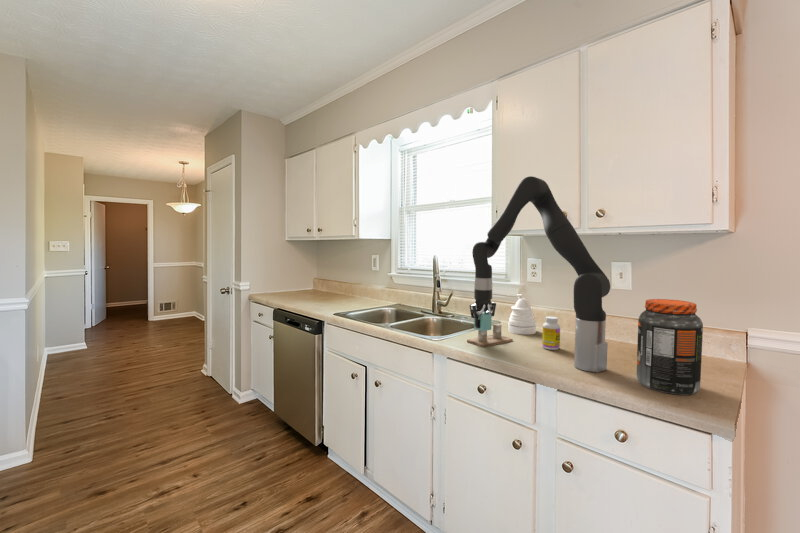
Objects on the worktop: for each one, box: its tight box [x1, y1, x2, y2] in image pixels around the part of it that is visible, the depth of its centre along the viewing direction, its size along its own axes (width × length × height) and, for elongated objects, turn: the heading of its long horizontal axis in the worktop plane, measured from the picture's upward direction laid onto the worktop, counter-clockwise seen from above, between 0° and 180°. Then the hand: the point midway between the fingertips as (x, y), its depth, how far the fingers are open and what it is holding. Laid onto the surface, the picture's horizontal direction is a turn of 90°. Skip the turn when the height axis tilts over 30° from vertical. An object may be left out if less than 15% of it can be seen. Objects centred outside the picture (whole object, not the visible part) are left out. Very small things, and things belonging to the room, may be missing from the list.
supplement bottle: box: [541, 315, 561, 351], centre depth 152 cm, size 7×7×13 cm
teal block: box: [473, 312, 493, 331], centre depth 159 cm, size 5×5×7 cm
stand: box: [466, 323, 514, 348], centre depth 162 cm, size 10×18×7 cm, turn 123°
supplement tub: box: [636, 298, 704, 396], centre depth 111 cm, size 16×16×26 cm
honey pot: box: [507, 293, 537, 335], centre depth 181 cm, size 13×13×18 cm
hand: (482, 326), depth 160 cm, fingers closed on teal block, 5 cm apart
